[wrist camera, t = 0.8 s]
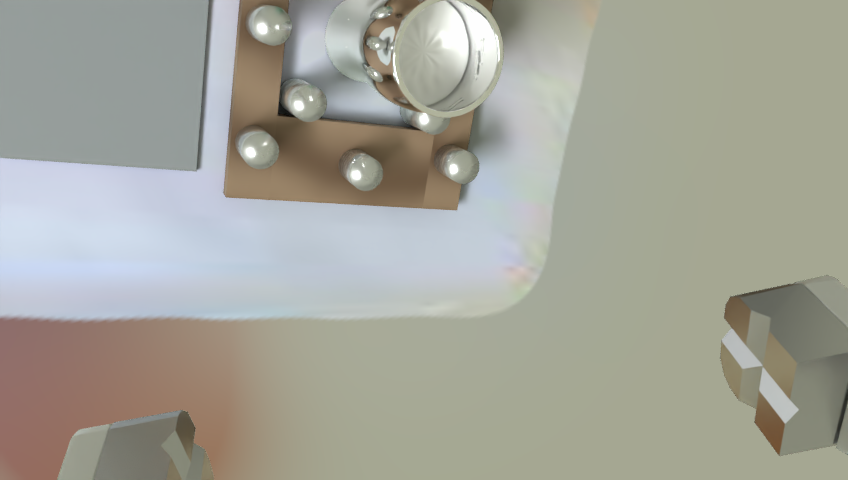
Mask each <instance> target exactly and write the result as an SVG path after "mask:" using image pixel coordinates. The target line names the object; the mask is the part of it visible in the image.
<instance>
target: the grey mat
mask: <svg viewBox="0 0 848 480" xmlns="http://www.w3.org/2000/svg"><path fill="white" fill-rule="evenodd" d="M208 4H209V0H0V158H10V159H25V160H39V161H54V162H68V163H82V164H97V165H111V166H126V167H140V168H155V169H169V170H184V171H196V169H197V155H198V141H199V127H200V114H201V100H202V86H203V73H204V59H205V45H206V32H207V18H208Z"/></svg>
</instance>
